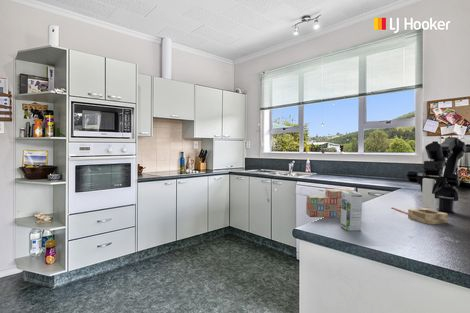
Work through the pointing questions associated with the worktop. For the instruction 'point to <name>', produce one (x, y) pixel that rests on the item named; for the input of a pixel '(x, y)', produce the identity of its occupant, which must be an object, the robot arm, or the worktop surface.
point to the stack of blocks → (325, 204)
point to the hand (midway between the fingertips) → (427, 192)
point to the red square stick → (400, 210)
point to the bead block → (427, 216)
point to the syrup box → (351, 210)
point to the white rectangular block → (428, 193)
